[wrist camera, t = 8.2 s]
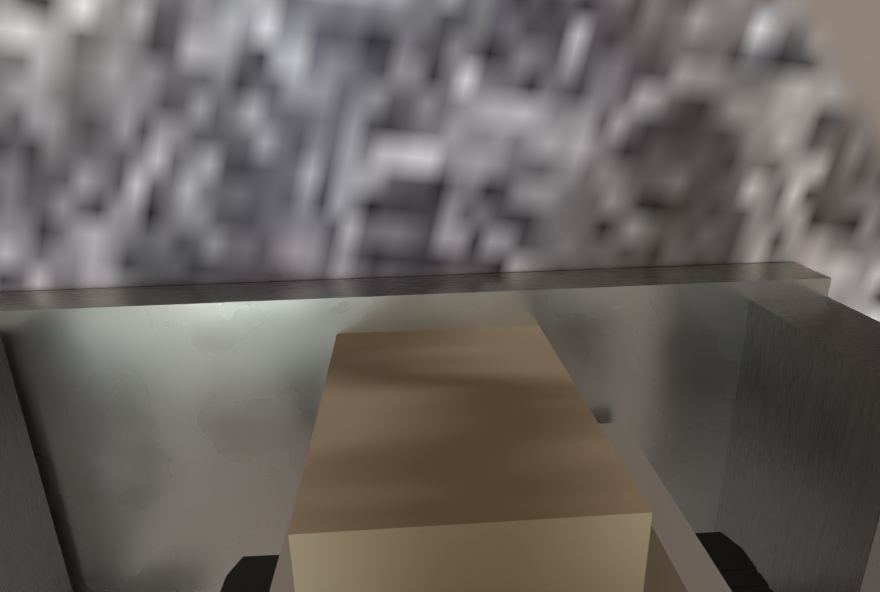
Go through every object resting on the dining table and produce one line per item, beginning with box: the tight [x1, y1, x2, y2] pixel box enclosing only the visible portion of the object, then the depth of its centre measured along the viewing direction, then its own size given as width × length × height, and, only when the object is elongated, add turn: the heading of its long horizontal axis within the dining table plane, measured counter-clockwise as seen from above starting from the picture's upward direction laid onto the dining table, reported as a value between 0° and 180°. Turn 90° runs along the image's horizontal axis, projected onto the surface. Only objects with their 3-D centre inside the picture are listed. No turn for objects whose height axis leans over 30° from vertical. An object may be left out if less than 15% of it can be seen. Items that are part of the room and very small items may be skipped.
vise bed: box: [0, 262, 831, 592], centre depth 17 cm, size 24×10×2 cm, turn 91°
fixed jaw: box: [714, 297, 880, 592], centre depth 14 cm, size 2×9×5 cm, turn 1°
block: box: [288, 325, 653, 592], centre depth 13 cm, size 5×8×7 cm, turn 1°
